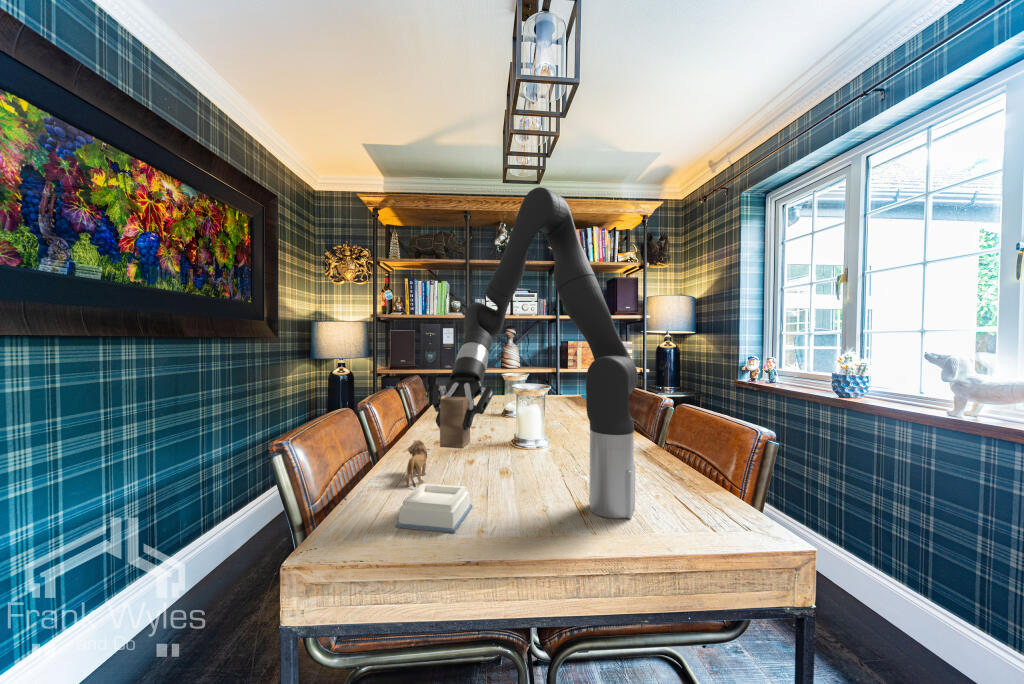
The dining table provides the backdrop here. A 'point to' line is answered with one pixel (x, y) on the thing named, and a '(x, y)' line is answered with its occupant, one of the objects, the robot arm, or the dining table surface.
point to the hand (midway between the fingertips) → (452, 427)
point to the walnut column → (453, 422)
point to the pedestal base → (435, 508)
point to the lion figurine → (416, 462)
